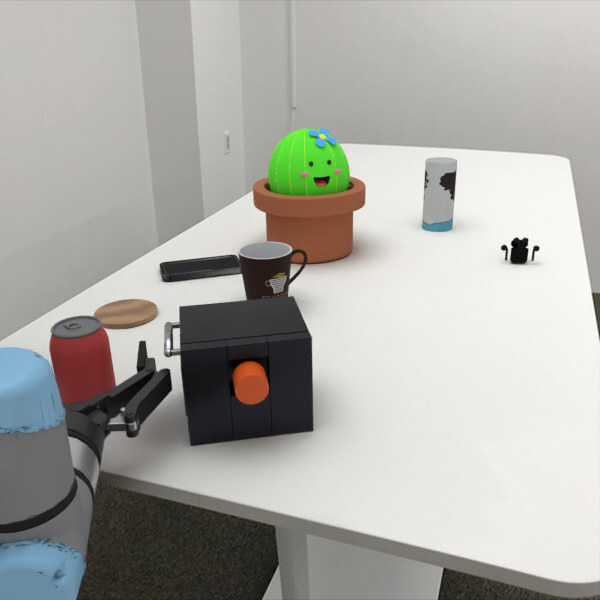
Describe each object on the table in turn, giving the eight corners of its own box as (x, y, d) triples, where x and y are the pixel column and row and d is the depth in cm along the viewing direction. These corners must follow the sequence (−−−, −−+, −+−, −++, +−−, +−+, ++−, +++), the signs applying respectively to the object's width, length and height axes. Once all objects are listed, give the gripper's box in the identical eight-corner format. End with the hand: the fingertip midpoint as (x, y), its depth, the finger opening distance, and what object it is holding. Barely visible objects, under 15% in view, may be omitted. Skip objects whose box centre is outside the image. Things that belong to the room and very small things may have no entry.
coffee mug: (243, 320, 102) (239, 260, 98) (239, 299, 110) (236, 243, 106) (316, 314, 104) (315, 255, 100) (307, 294, 112) (306, 238, 108)
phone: (158, 262, 125) (236, 253, 128) (159, 268, 125) (236, 259, 129) (162, 276, 118) (243, 267, 121) (163, 282, 118) (244, 272, 122)
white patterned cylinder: (458, 227, 145) (464, 160, 139) (437, 233, 142) (441, 164, 136) (436, 221, 150) (440, 156, 144) (415, 226, 147) (418, 160, 141)
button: (233, 391, 71) (231, 362, 70) (266, 388, 71) (264, 359, 70) (235, 406, 68) (233, 376, 67) (269, 402, 69) (268, 372, 67)
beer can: (92, 395, 83) (78, 309, 78) (131, 408, 80) (118, 319, 75) (51, 421, 78) (32, 330, 73) (90, 436, 74) (74, 343, 70)
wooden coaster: (84, 314, 106) (83, 310, 105) (139, 298, 112) (139, 294, 111) (111, 334, 99) (110, 330, 98) (169, 316, 105) (168, 311, 104)
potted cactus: (245, 240, 140) (238, 121, 130) (340, 229, 146) (340, 114, 136) (273, 274, 121) (267, 137, 111) (381, 260, 127) (385, 129, 117)
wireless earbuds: (499, 263, 124) (502, 238, 122) (498, 259, 126) (500, 234, 124) (538, 264, 123) (541, 239, 121) (535, 260, 125) (538, 235, 123)
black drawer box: (172, 393, 83) (163, 307, 78) (295, 380, 85) (293, 295, 80) (173, 448, 72) (161, 352, 67) (313, 430, 75) (312, 337, 70)
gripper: (-82, 518, 58) (-19, 394, 77) (199, 481, 62) (193, 372, 81) (-104, 448, 55) (-33, 338, 74) (193, 414, 59) (188, 318, 78)
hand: (85, 356), depth 78 cm, fingers open, 13 cm apart
